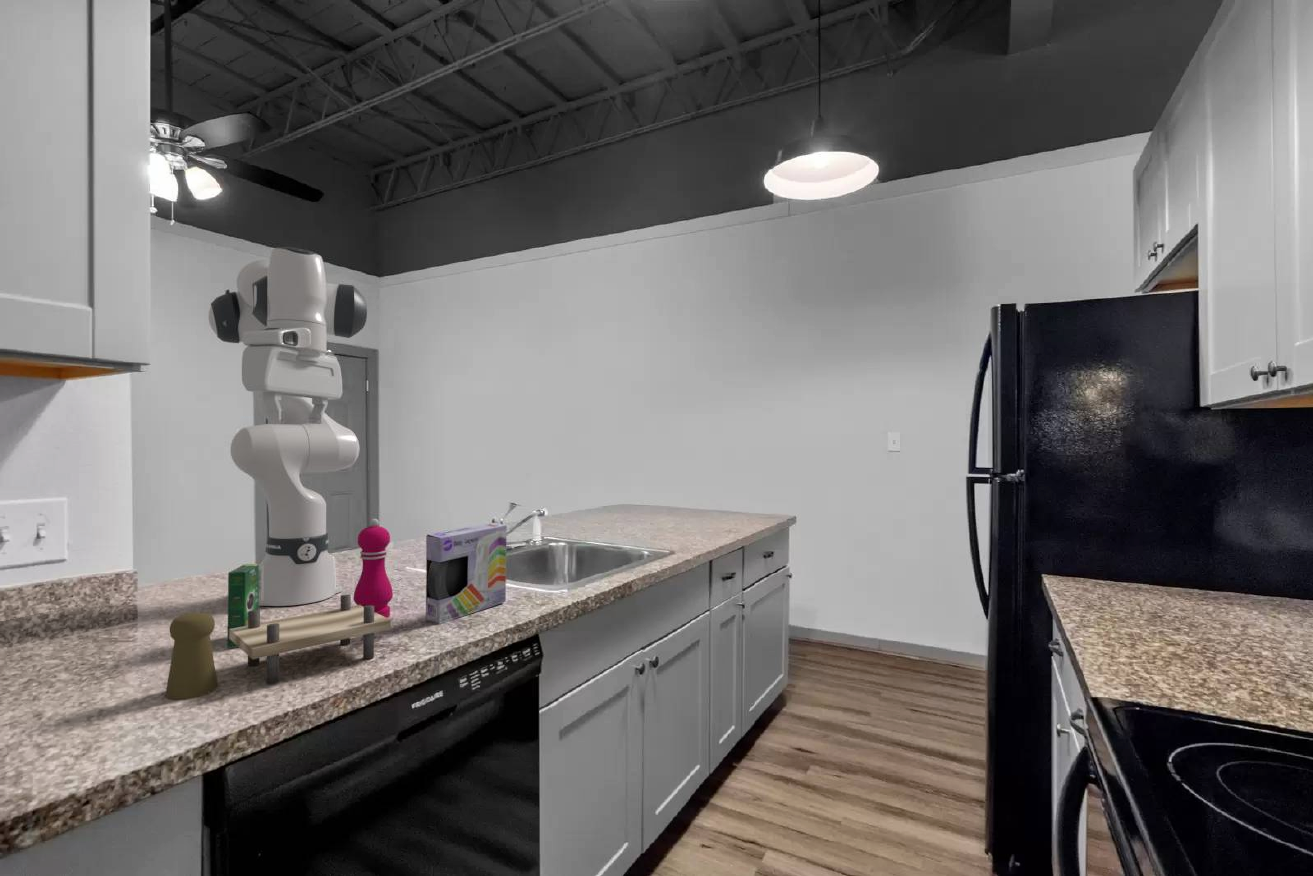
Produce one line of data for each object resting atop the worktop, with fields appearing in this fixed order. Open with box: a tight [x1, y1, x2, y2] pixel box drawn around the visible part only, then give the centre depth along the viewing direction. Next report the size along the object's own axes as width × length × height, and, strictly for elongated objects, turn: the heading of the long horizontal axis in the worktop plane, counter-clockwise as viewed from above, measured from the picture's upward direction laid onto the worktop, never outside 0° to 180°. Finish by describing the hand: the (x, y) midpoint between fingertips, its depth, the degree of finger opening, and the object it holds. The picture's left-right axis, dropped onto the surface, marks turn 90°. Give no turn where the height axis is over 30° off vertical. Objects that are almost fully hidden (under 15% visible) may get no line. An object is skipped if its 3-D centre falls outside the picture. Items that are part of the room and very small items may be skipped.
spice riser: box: [229, 593, 392, 685], centre depth 101 cm, size 13×20×8 cm, turn 137°
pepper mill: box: [353, 518, 394, 619], centre depth 125 cm, size 7×7×20 cm
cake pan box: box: [425, 522, 508, 625], centre depth 129 cm, size 19×5×18 cm, turn 148°
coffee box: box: [226, 563, 260, 649], centre depth 111 cm, size 8×3×13 cm, turn 17°
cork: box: [164, 612, 219, 701], centre depth 89 cm, size 6×6×11 cm
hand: (297, 422), depth 106 cm, fingers open, 8 cm apart
